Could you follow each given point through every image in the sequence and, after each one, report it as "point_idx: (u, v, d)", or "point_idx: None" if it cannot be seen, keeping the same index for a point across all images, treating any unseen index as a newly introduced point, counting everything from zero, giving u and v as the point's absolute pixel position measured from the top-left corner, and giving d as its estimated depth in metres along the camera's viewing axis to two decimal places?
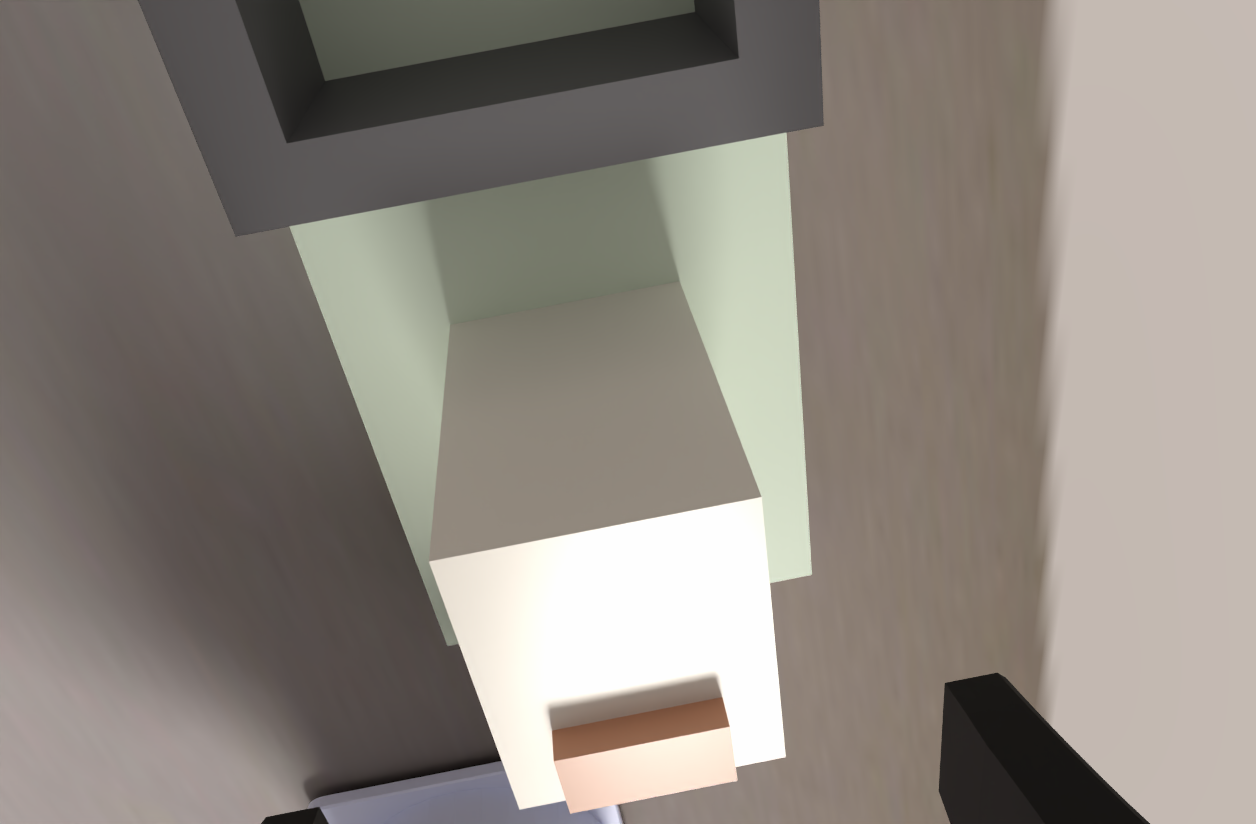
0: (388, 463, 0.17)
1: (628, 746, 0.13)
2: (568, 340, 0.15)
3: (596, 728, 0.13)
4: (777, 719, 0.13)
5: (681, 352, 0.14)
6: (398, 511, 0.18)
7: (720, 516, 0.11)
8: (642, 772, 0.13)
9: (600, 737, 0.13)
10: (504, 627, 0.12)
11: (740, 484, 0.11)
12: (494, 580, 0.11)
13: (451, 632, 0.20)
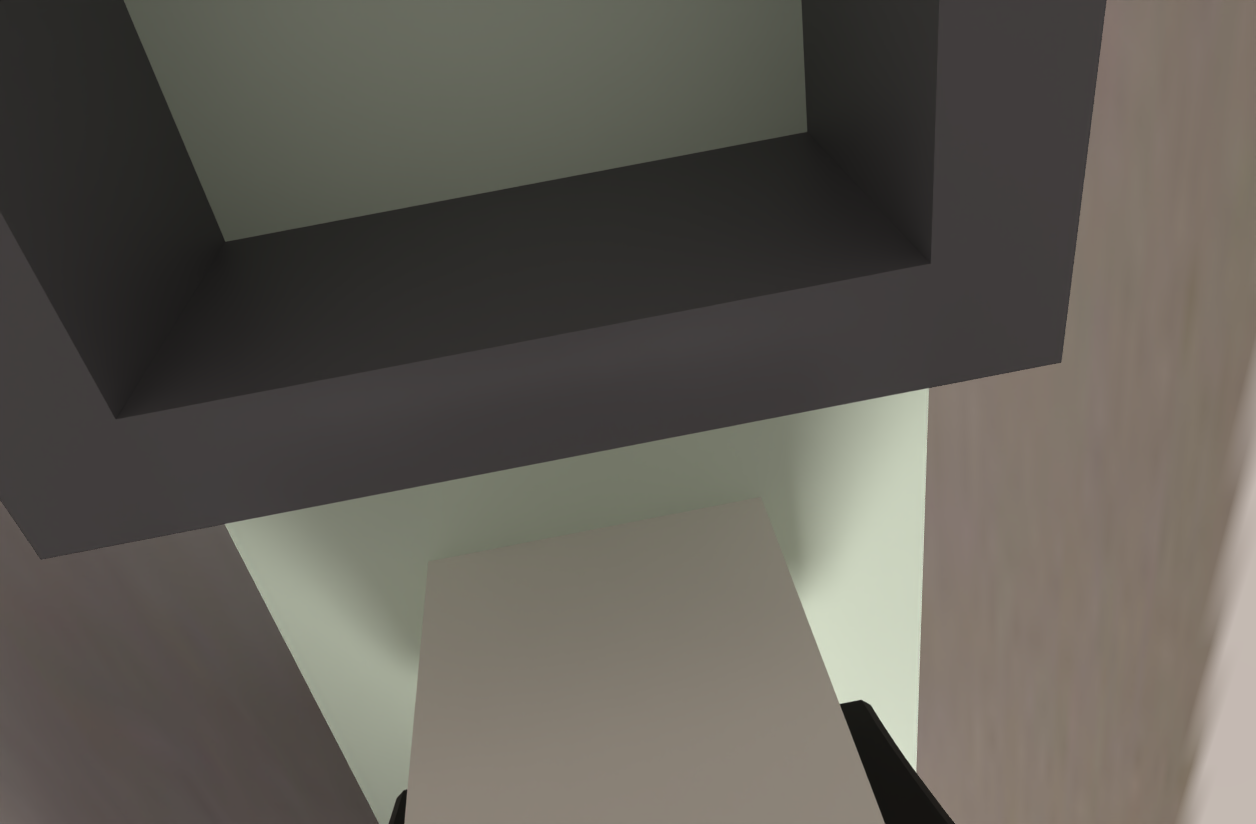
0: (344, 729, 0.12)
1: None
2: (603, 610, 0.10)
3: None
4: None
5: (781, 654, 0.09)
6: (360, 780, 0.13)
7: None
8: None
9: None
10: None
11: None
12: None
13: None
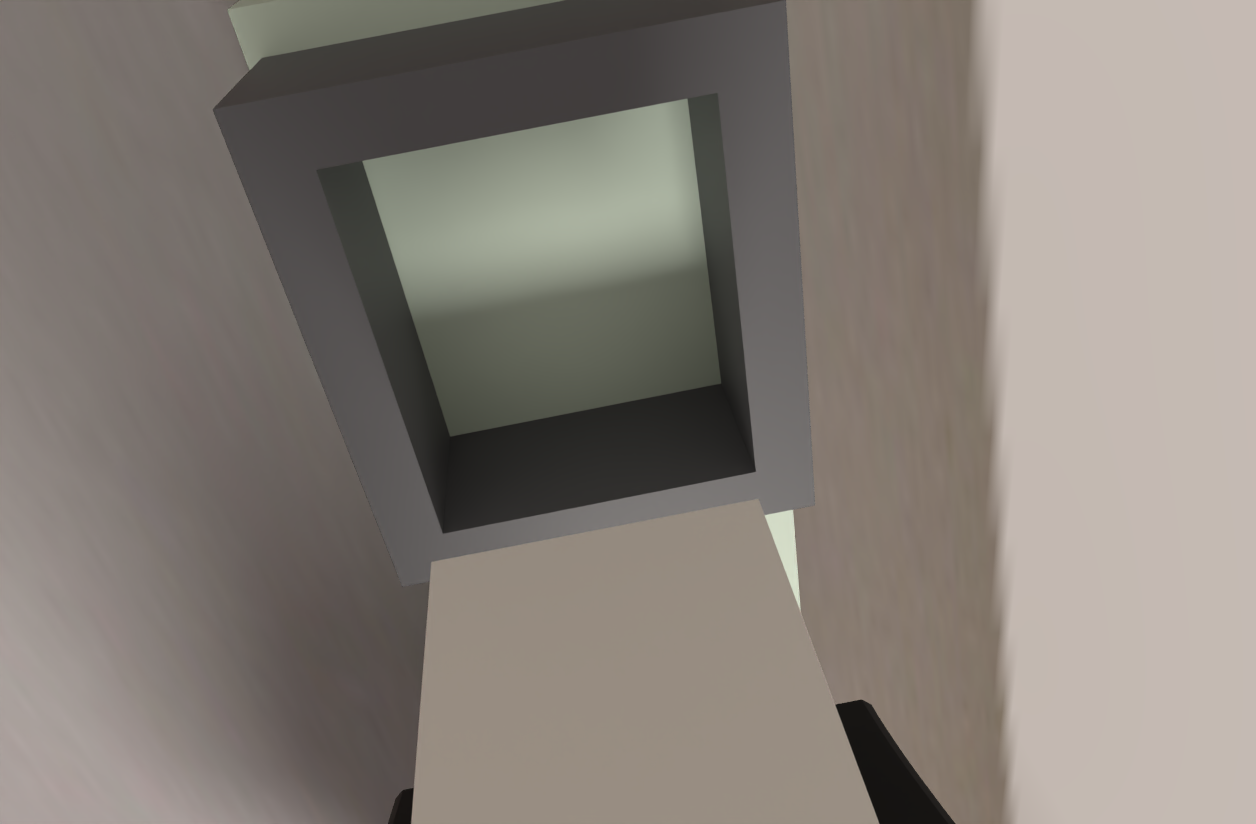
0: None
1: None
2: (604, 611, 0.10)
3: None
4: None
5: (777, 657, 0.09)
6: None
7: None
8: None
9: None
10: None
11: None
12: None
13: None
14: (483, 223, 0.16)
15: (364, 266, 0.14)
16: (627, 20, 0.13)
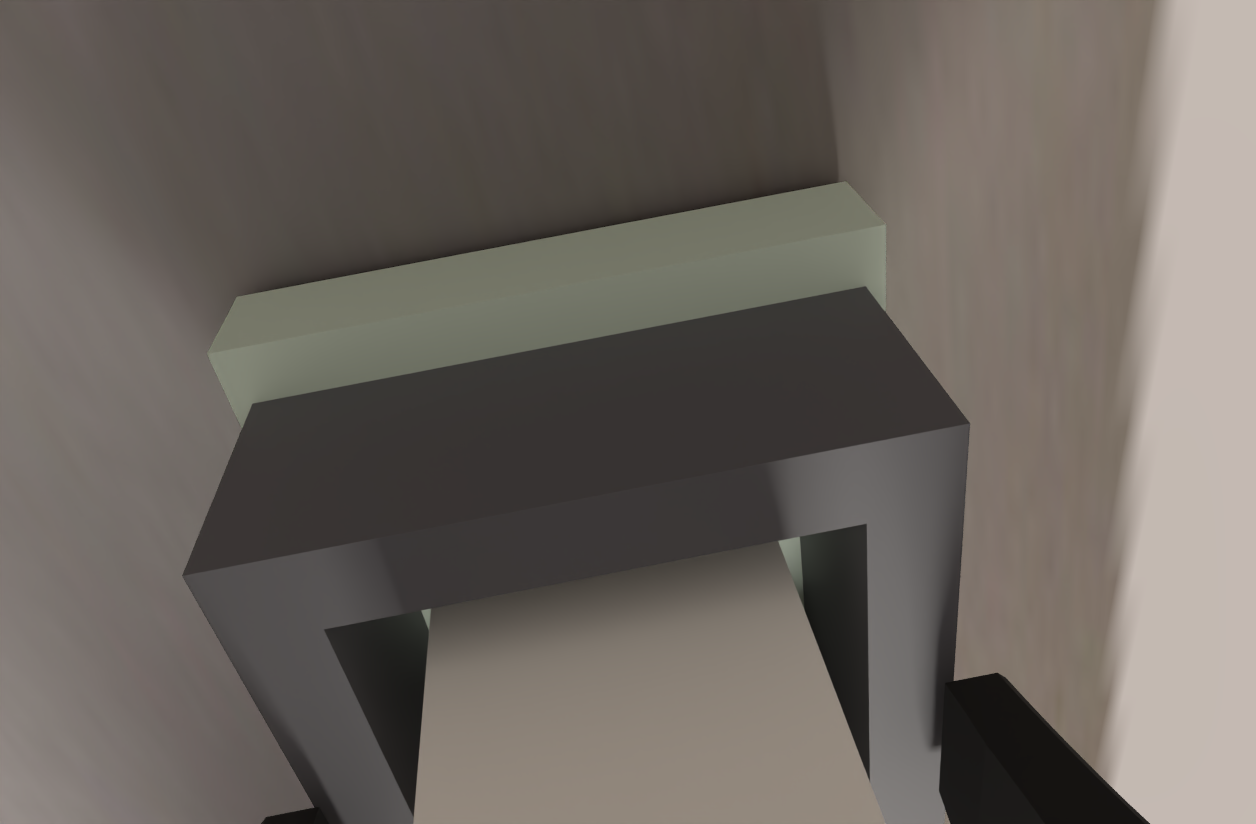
0: None
1: None
2: None
3: None
4: None
5: (752, 567, 0.10)
6: None
7: None
8: None
9: None
10: None
11: None
12: None
13: None
14: None
15: (385, 683, 0.11)
16: (746, 427, 0.09)
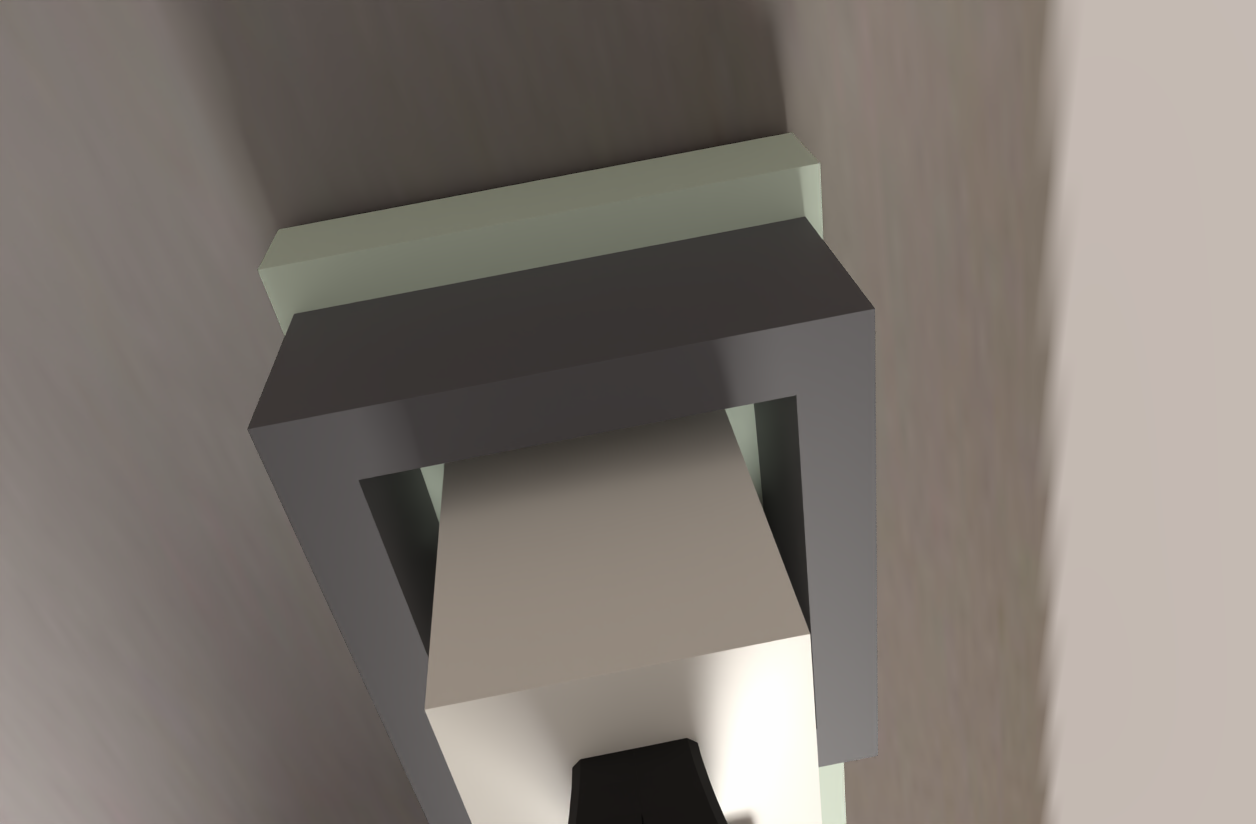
0: None
1: None
2: None
3: None
4: None
5: (708, 441, 0.13)
6: None
7: (761, 655, 0.10)
8: None
9: None
10: (511, 774, 0.10)
11: (784, 616, 0.10)
12: (500, 728, 0.10)
13: None
14: None
15: (404, 544, 0.13)
16: (698, 317, 0.12)
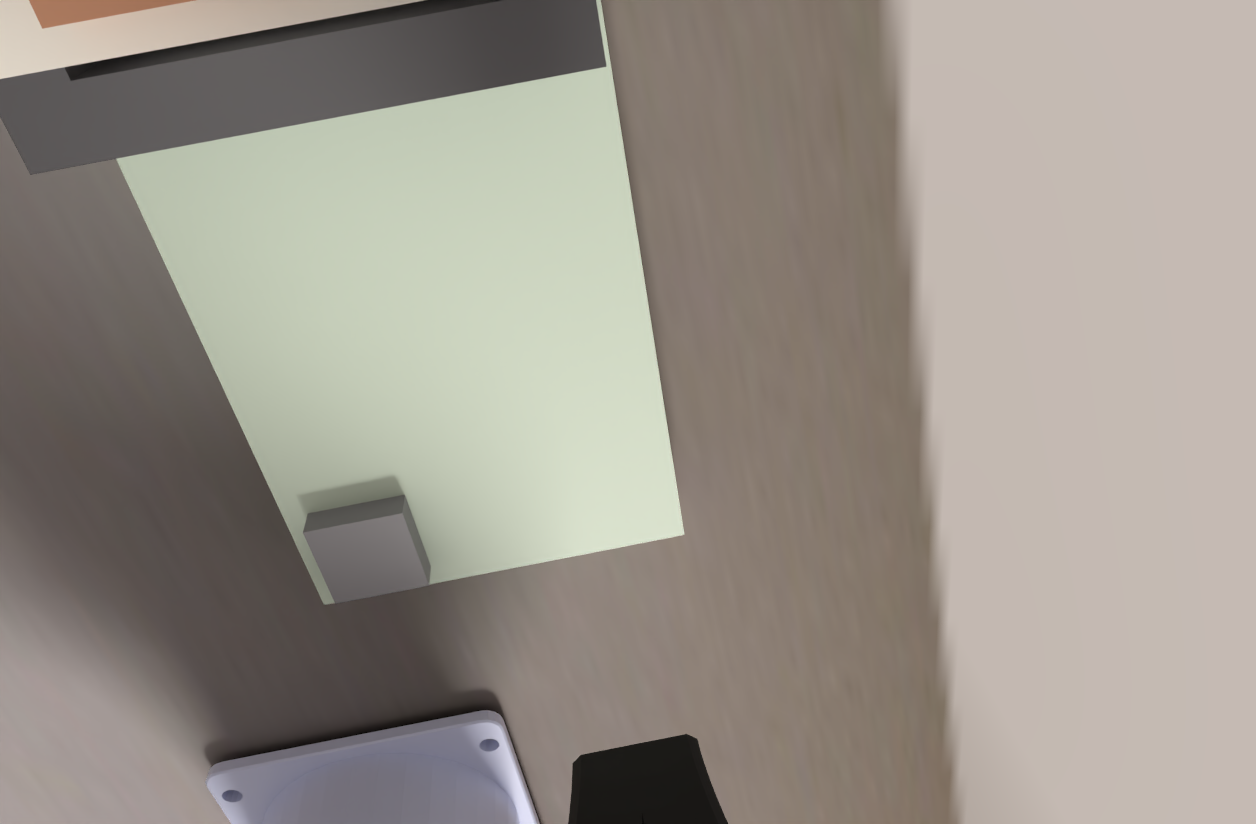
0: (246, 418, 0.18)
1: None
2: None
3: None
4: None
5: None
6: (262, 467, 0.18)
7: None
8: None
9: None
10: None
11: None
12: None
13: (326, 591, 0.20)
14: None
15: None
16: None
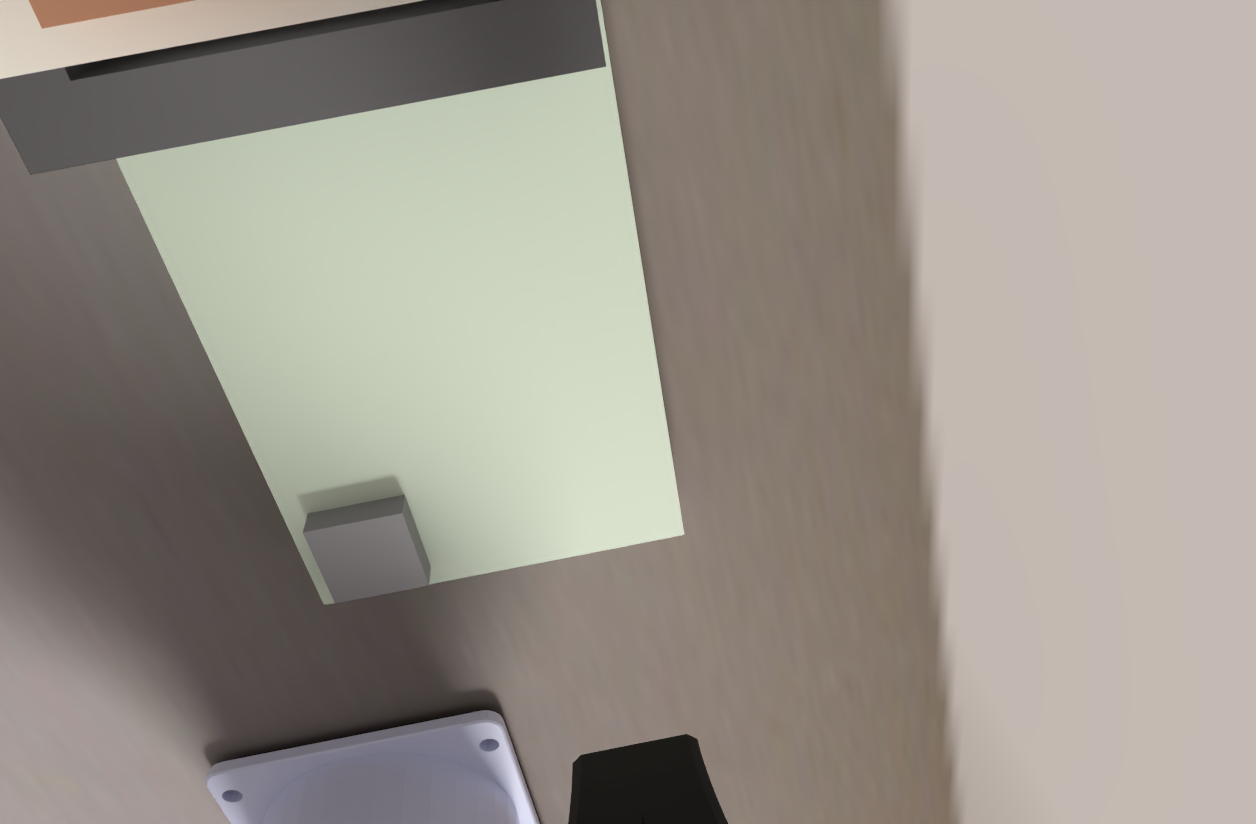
0: (246, 418, 0.18)
1: None
2: None
3: None
4: None
5: None
6: (262, 467, 0.18)
7: None
8: None
9: None
10: None
11: None
12: None
13: (326, 591, 0.20)
14: None
15: None
16: None
